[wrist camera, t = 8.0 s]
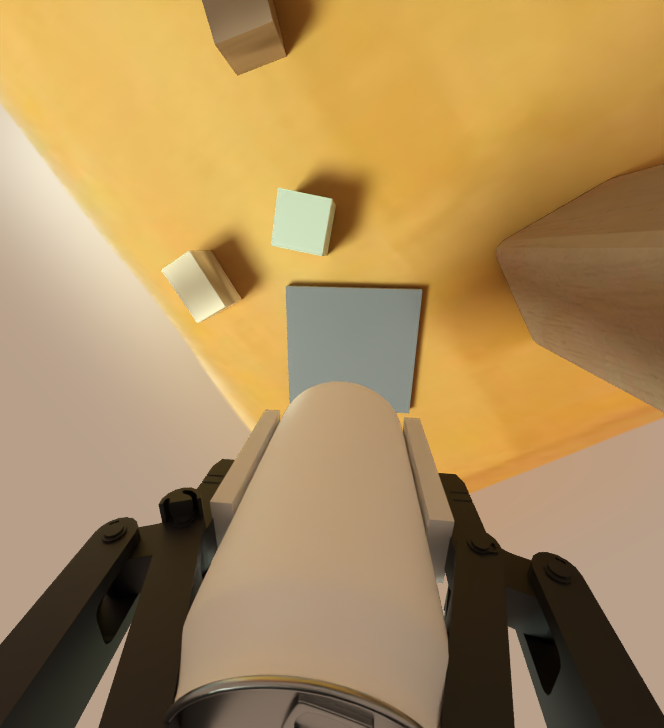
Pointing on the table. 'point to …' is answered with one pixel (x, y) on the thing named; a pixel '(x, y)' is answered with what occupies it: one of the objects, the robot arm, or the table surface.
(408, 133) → the table surface
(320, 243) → the sage painted cube
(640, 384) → the wooden block
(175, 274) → the pale birch block
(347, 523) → the can
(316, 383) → the slate coaster
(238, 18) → the walnut block
